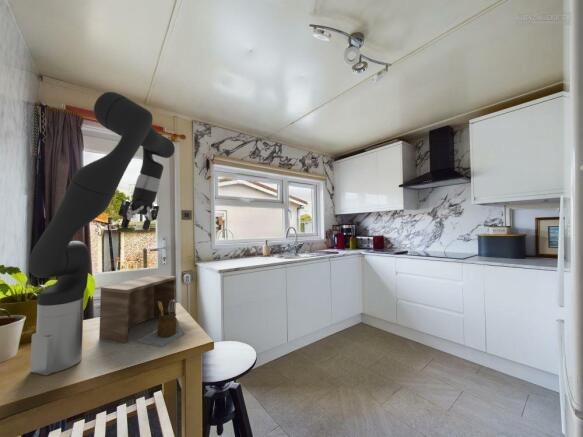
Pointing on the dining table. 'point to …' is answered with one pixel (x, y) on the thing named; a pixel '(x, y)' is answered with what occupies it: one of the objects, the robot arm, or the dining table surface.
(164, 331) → the utensil holder
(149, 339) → the grey mat
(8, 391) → the dining table surface
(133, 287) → the open box
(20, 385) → the dining table surface
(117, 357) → the dining table surface
